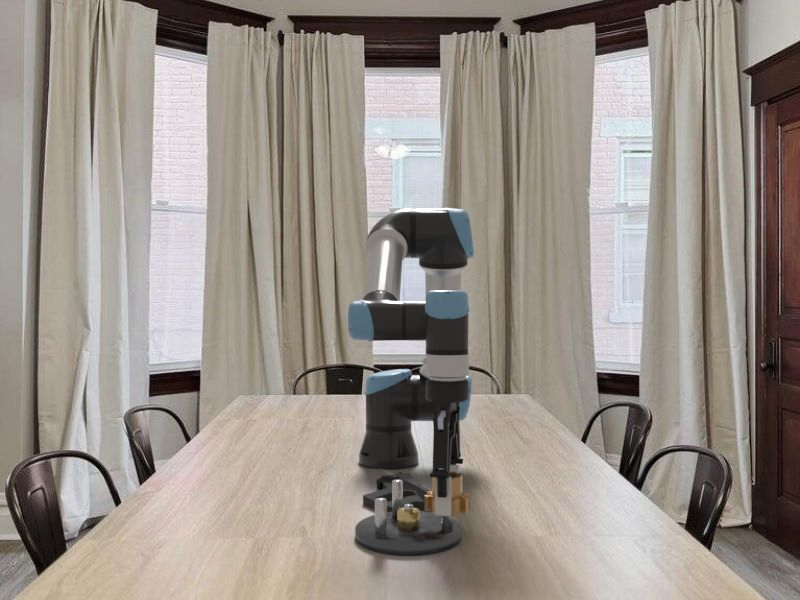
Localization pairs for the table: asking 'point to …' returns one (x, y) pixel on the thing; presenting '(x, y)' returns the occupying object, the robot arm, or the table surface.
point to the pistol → (411, 491)
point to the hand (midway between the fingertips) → (447, 507)
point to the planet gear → (458, 499)
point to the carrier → (406, 528)
